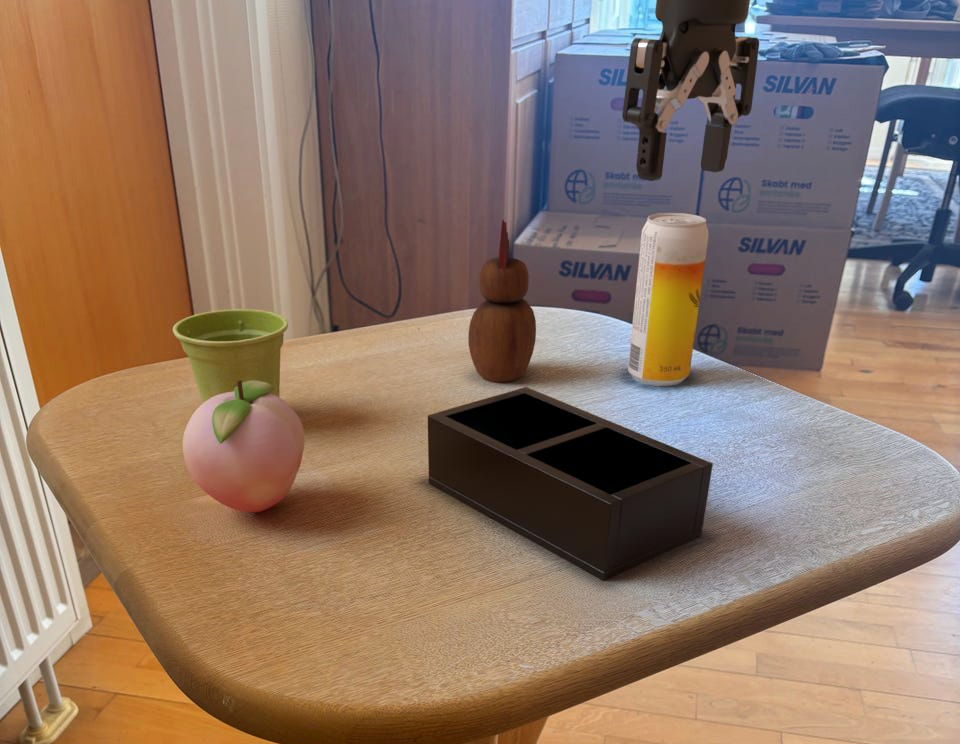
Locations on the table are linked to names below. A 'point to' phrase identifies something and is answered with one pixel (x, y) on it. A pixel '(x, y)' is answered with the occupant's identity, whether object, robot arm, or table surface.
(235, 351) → the plant pot
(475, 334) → the wooden figurine
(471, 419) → the divided box
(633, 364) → the beer can
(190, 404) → the table surface
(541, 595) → the table surface
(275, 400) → the decorative fruit
